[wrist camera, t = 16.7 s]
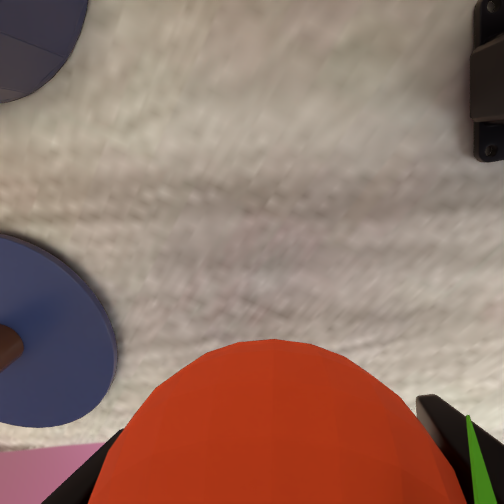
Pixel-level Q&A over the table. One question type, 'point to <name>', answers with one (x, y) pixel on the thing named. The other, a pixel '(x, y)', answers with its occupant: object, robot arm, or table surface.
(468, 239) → the table surface
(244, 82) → the table surface
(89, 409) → the tin lid
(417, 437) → the clementine
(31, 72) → the tin
